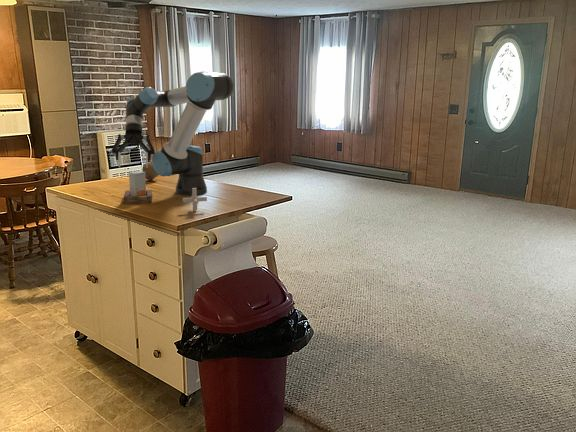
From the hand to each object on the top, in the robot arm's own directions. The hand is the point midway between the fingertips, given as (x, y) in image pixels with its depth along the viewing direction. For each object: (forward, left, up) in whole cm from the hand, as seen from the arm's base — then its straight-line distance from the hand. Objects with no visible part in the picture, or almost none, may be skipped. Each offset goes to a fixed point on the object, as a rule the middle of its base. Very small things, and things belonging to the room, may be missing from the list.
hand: (133, 165), depth 224 cm
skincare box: (-1, -2, -16) cm, 16 cm away
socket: (-1, -2, -16) cm, 16 cm away
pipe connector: (-29, +17, -17) cm, 37 cm away
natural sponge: (+2, -46, -17) cm, 49 cm away
